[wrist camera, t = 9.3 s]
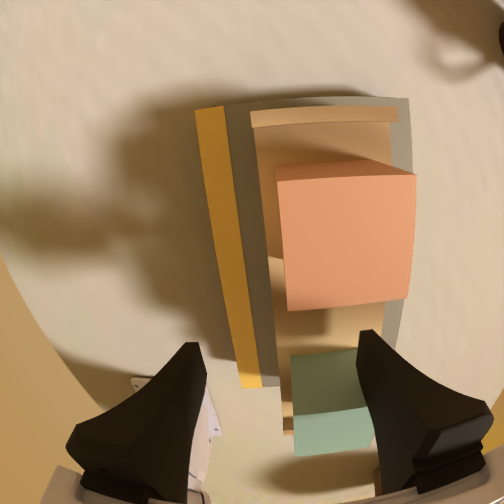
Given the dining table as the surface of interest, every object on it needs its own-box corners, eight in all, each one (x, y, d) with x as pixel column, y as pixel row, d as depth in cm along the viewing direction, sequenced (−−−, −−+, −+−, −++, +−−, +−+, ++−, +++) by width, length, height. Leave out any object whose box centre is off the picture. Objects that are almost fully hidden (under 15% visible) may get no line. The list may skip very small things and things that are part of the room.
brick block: (372, 251, 13) (407, 298, 9) (283, 259, 13) (287, 311, 9) (372, 159, 11) (416, 174, 7) (274, 165, 11) (276, 181, 8)
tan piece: (353, 369, 21) (367, 425, 16) (282, 377, 22) (283, 435, 17) (357, 113, 14) (397, 106, 9) (256, 118, 15) (249, 111, 10)
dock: (380, 349, 24) (389, 373, 21) (244, 362, 25) (242, 388, 22) (389, 102, 16) (408, 98, 14) (205, 113, 18) (194, 110, 15)
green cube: (356, 394, 16) (369, 446, 12) (292, 402, 17) (294, 456, 13) (364, 347, 15) (383, 403, 11) (289, 355, 15) (293, 415, 11)
